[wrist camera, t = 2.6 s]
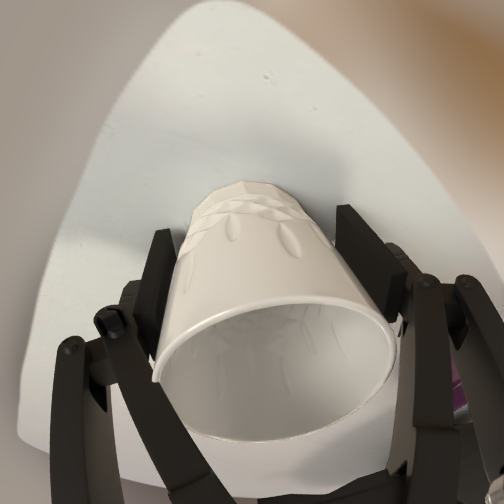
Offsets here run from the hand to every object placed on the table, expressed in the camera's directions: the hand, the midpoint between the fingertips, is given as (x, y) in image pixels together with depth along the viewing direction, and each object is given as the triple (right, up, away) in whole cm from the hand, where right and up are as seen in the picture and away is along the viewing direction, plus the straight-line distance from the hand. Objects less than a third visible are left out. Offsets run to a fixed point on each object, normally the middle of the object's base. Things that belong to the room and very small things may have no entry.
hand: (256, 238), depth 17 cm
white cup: (0, 0, +1) cm, 1 cm away
